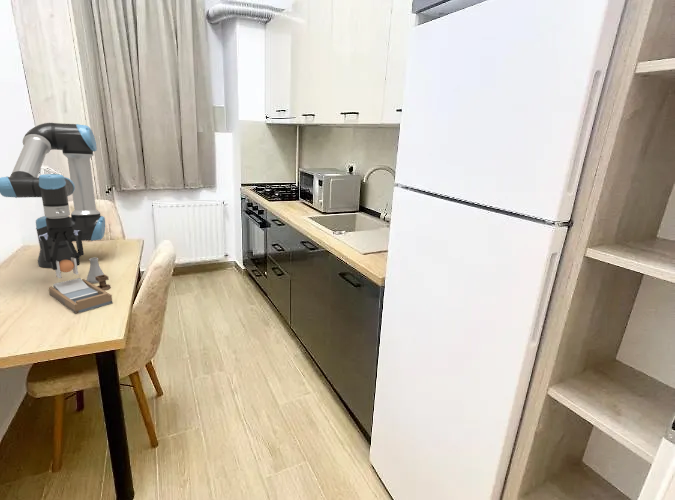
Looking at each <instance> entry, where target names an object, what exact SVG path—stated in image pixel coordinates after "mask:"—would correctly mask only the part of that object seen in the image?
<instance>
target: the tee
mask: <svg viewBox="0 0 675 500" xmlns="http://www.w3.org/2000/svg"><path fill="white" fill-rule="evenodd" d="M95 278H96V280H97V281H99V282H98V284H99V285H96V286H97V287H99V288H100V289H102V290H104V291H107V290H109V289H111V284H109V283H108V284H107V281H108V280H109V276H108V275H107V274H104V275H100V276H96V277H95Z"/></svg>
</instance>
